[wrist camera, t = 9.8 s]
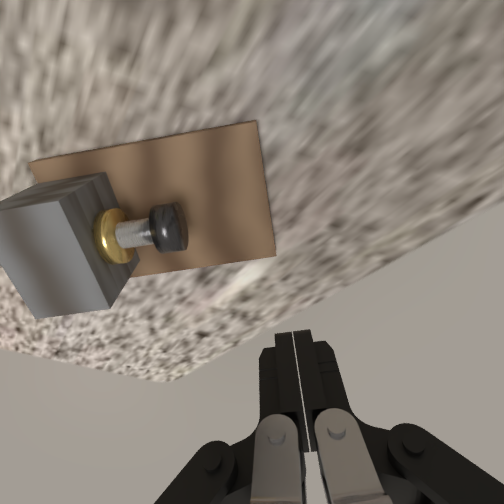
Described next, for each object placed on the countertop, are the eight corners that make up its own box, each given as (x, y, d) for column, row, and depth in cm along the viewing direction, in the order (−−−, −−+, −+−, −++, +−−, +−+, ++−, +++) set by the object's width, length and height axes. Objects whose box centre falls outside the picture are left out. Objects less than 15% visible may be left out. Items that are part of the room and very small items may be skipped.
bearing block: (256, 119, 30) (257, 135, 21) (275, 249, 36) (283, 303, 27) (37, 159, 31) (-47, 190, 23) (93, 276, 38) (46, 335, 29)
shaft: (178, 190, 29) (165, 210, 25) (192, 238, 32) (183, 264, 27) (-20, 224, 31) (-65, 247, 26) (7, 267, 33) (-30, 295, 29)
